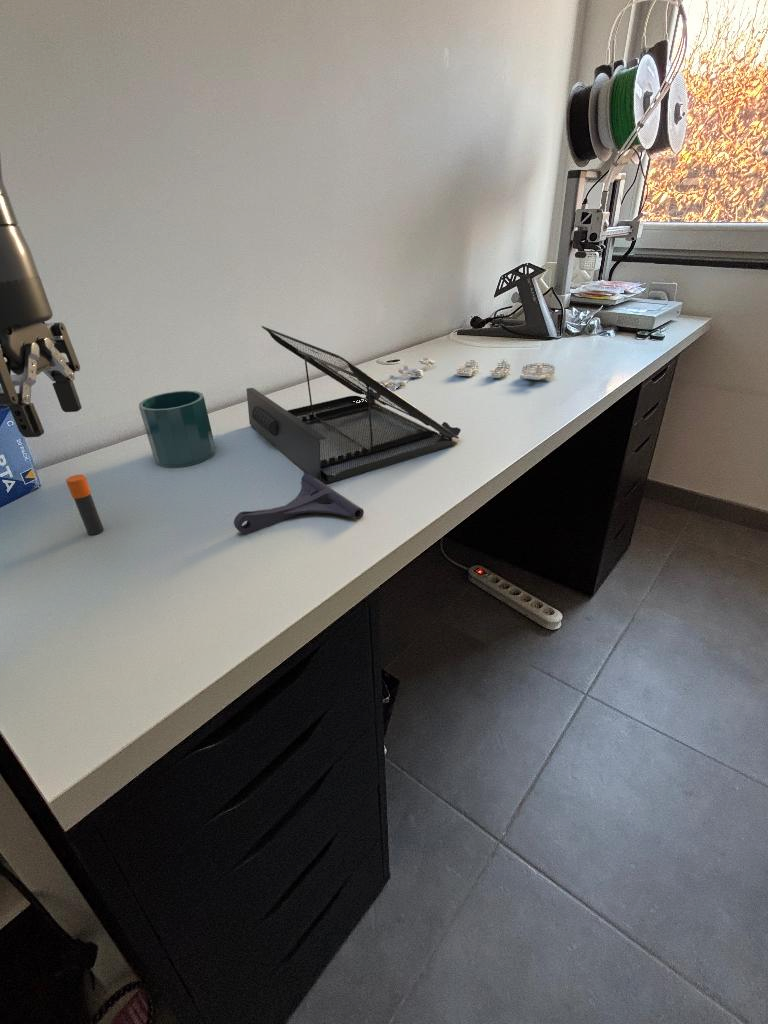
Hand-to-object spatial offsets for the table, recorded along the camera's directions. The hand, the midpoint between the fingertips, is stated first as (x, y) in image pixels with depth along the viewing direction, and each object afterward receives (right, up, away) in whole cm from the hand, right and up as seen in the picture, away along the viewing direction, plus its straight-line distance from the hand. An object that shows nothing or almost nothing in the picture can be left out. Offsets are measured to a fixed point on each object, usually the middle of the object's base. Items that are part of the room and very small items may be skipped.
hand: (54, 422), depth 64 cm
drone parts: (+59, +19, +58) cm, 85 cm away
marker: (+1, -13, +8) cm, 15 cm away
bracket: (+27, -11, +8) cm, 30 cm away
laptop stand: (+33, +3, +34) cm, 47 cm away
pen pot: (+5, -1, +29) cm, 30 cm away
